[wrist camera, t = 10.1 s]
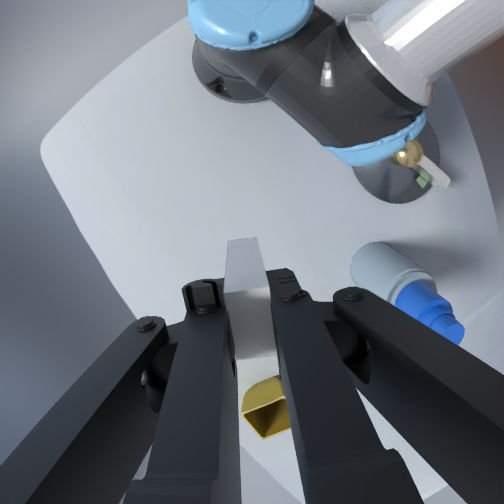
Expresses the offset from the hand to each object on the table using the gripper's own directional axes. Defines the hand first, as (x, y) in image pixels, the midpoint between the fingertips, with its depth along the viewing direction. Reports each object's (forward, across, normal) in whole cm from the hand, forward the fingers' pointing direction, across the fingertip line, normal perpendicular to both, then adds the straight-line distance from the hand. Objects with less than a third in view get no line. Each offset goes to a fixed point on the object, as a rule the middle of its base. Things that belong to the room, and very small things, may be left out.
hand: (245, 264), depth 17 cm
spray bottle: (+34, +21, -16) cm, 43 cm away
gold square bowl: (+34, 0, -38) cm, 51 cm away
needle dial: (+33, +29, +2) cm, 44 cm away
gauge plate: (+34, +27, +4) cm, 43 cm away
